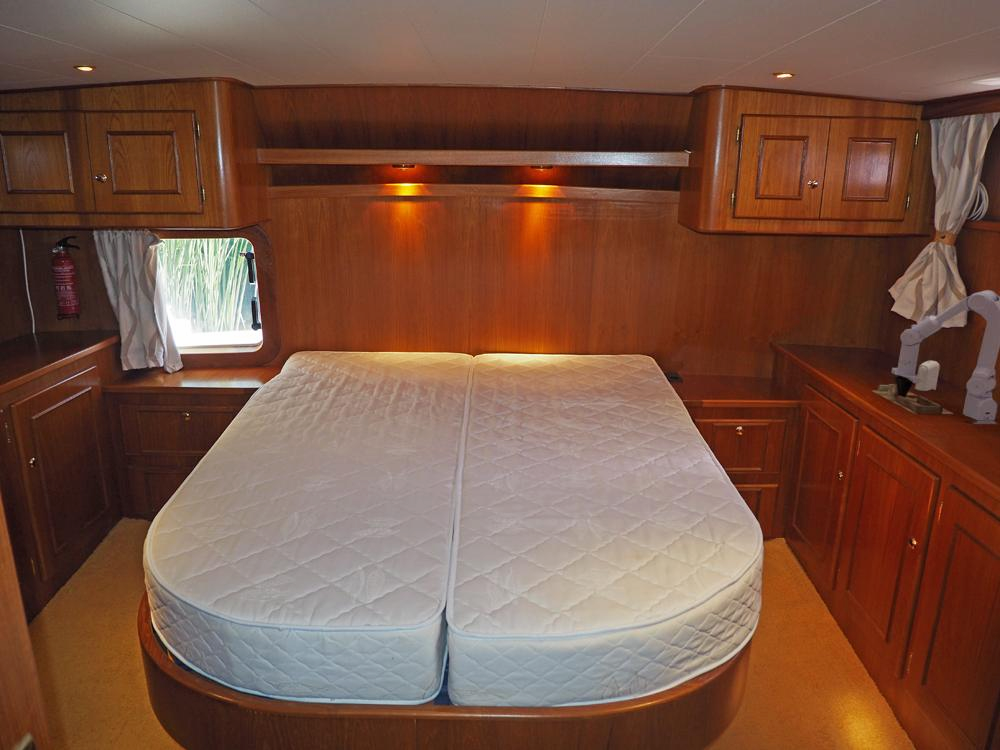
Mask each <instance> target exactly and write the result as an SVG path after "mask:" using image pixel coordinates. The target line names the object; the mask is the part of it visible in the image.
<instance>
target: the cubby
mask: <svg viewBox="0 0 1000 750" xmlns="http://www.w3.org/2000/svg"><path fill="white" fill-rule="evenodd" d="M917 396H918V397H916V398H917V403H919V404H921V405H923V406H920V405H918V404H916V403H914V402H912V401H910V400H908V399H906V398H904V397H902V396H897V403H899V404H901V405H903V406H905V407H906V408H908V409H910V410H912V411H914V412H916V413H918V415H920V414H921V415H930V414H931V415H933V414H934V415H936V414H937V415H943V414H942V411H943V409H944V406H942V405H940V404H938V403H936V402H934V401H933V400H930V399H928V398H926V397H924V396H922V395H917Z"/></svg>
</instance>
